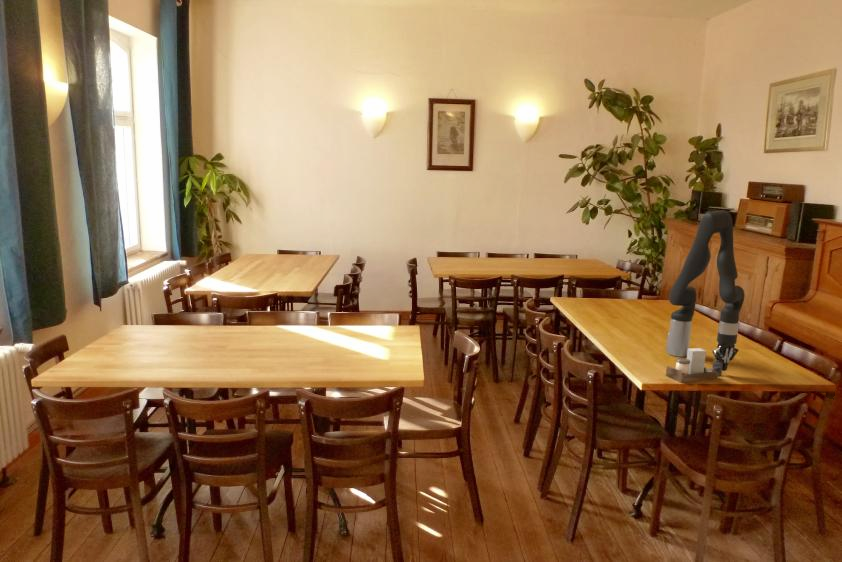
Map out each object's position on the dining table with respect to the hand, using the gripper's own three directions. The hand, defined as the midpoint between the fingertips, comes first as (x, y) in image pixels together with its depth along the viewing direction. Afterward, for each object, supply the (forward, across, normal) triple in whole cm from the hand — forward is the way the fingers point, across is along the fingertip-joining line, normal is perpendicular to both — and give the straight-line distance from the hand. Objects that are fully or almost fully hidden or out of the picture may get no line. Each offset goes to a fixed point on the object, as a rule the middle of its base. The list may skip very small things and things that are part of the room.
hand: (723, 370), depth 255 cm
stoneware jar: (+1, +23, 0) cm, 23 cm away
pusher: (+2, +8, 0) cm, 8 cm away
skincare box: (+1, +16, 0) cm, 16 cm away
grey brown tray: (+2, +17, 0) cm, 17 cm away
